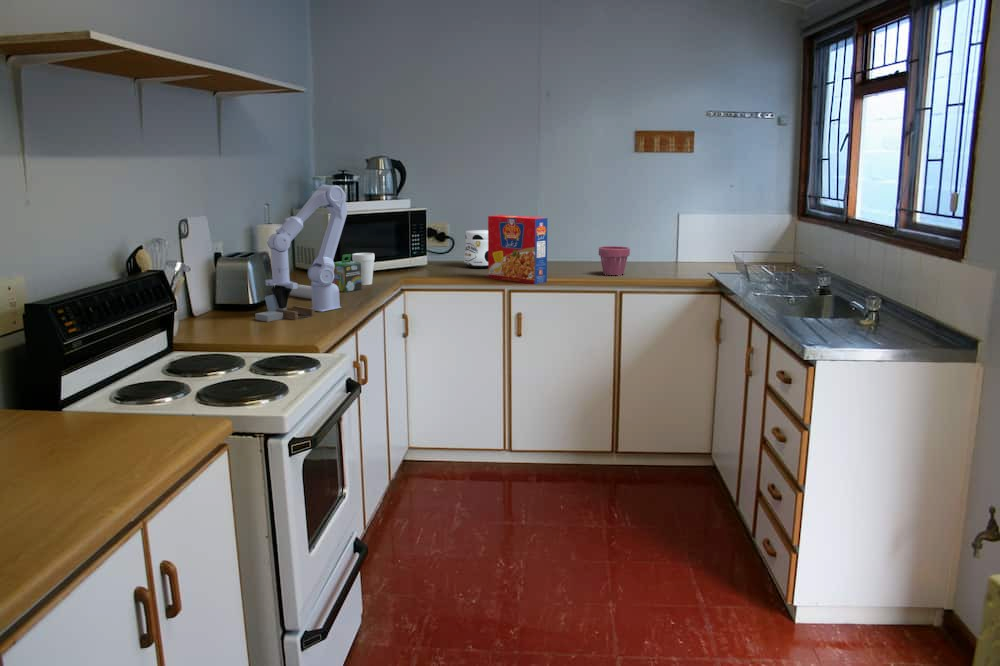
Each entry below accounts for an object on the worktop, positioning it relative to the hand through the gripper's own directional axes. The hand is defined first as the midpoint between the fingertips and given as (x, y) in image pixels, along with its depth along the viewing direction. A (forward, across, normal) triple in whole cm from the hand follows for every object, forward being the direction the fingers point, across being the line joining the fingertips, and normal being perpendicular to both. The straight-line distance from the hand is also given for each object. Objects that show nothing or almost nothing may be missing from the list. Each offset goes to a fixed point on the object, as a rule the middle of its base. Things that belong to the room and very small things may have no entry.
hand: (282, 307), depth 274 cm
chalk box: (+2, -22, +50) cm, 54 cm away
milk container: (+2, -20, +140) cm, 142 cm away
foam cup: (+2, -28, +66) cm, 72 cm away
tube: (+3, -25, +28) cm, 37 cm away
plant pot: (+2, +46, +154) cm, 161 cm away
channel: (+2, +6, 0) cm, 7 cm away
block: (+2, -2, 0) cm, 3 cm away
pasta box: (+2, +20, +114) cm, 116 cm away
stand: (+2, +4, -8) cm, 9 cm away
